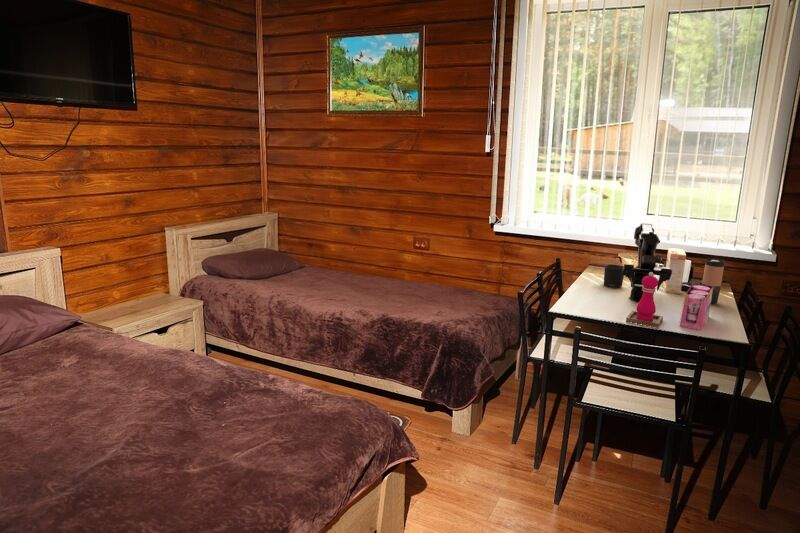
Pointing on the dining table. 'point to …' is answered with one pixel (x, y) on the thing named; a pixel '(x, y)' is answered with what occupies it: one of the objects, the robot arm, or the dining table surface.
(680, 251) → the coffeecake box
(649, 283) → the pepper mill
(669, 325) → the dining table surface
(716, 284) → the travel mug
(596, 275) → the dining table surface
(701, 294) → the gum box
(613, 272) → the pen holder
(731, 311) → the dining table surface
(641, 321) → the walnut tray
